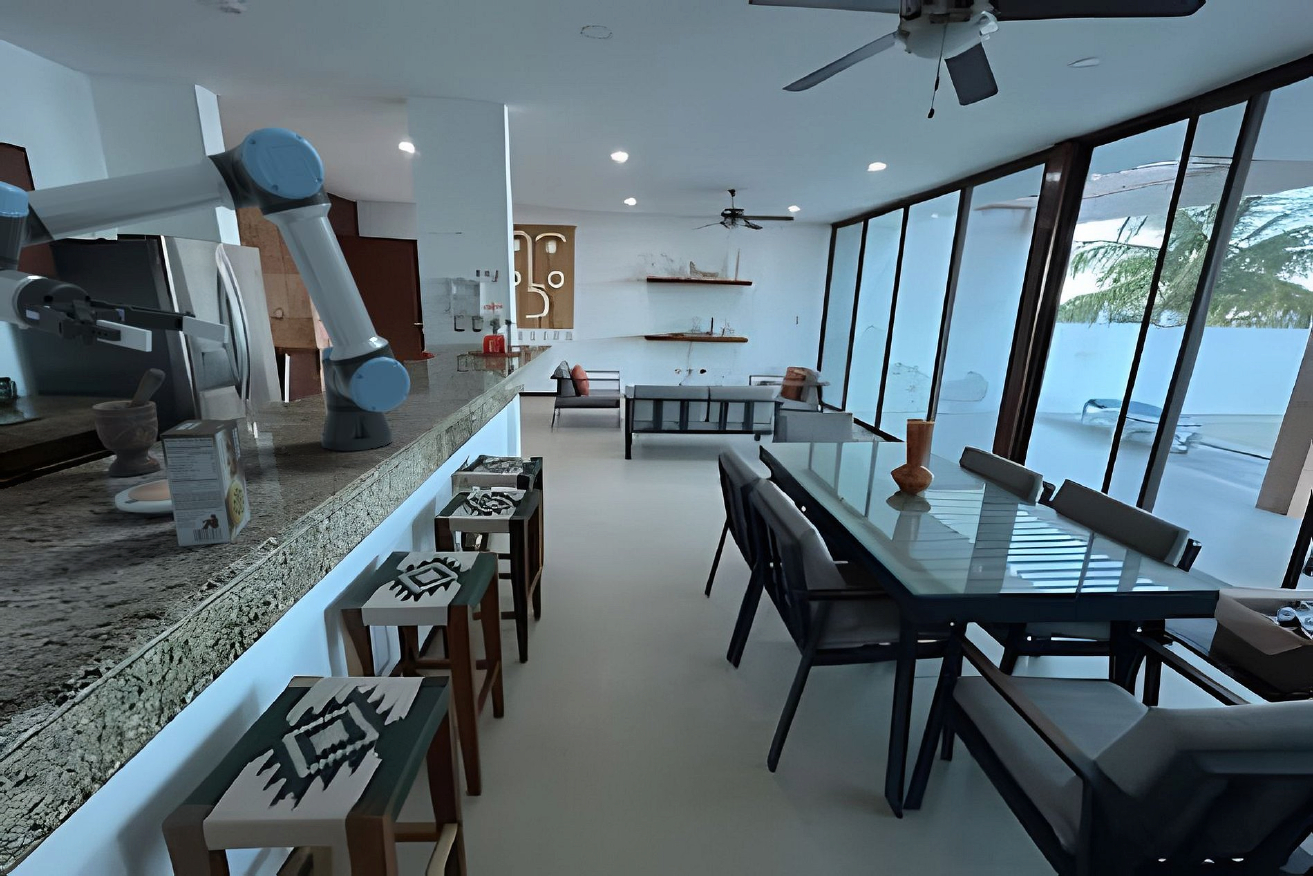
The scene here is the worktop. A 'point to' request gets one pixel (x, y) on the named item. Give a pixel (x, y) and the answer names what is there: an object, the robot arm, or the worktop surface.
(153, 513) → the turntable base
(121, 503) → the turntable platter
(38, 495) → the worktop surface
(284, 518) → the worktop surface
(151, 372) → the mortar and pestle
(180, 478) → the coffee box
